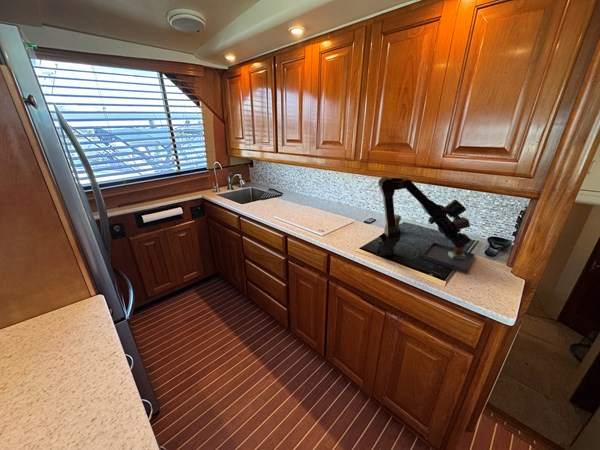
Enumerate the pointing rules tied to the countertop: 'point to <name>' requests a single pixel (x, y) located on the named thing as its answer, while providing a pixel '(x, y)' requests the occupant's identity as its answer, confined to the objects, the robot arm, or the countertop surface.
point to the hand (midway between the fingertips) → (462, 245)
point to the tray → (447, 257)
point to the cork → (397, 220)
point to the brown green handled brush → (457, 253)
